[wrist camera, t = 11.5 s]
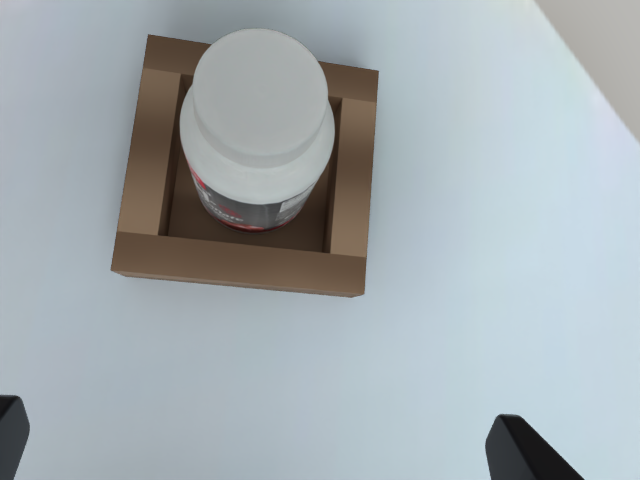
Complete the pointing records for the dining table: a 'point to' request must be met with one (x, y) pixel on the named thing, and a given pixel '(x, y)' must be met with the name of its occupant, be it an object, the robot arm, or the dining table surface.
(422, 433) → the dining table surface
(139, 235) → the socket block
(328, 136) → the pill bottle
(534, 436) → the robot arm
